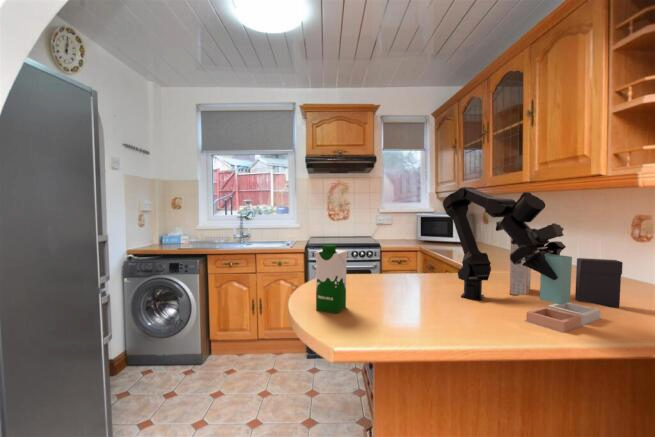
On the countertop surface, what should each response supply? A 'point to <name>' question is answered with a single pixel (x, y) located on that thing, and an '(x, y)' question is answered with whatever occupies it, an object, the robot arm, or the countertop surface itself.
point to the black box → (598, 281)
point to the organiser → (563, 316)
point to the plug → (557, 280)
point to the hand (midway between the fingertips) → (561, 278)
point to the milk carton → (330, 279)
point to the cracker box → (519, 276)
